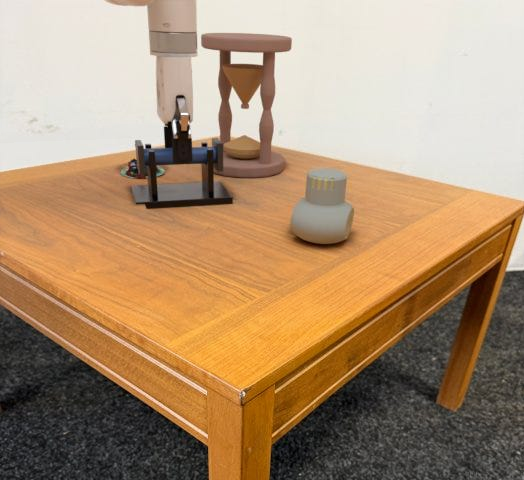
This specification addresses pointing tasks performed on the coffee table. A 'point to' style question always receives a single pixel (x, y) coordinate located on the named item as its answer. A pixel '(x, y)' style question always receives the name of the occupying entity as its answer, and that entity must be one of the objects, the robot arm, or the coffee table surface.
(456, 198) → the coffee table surface
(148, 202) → the holder
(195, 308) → the coffee table surface
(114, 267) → the coffee table surface
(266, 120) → the hourglass
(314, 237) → the air freshener
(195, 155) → the handle
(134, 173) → the dish
